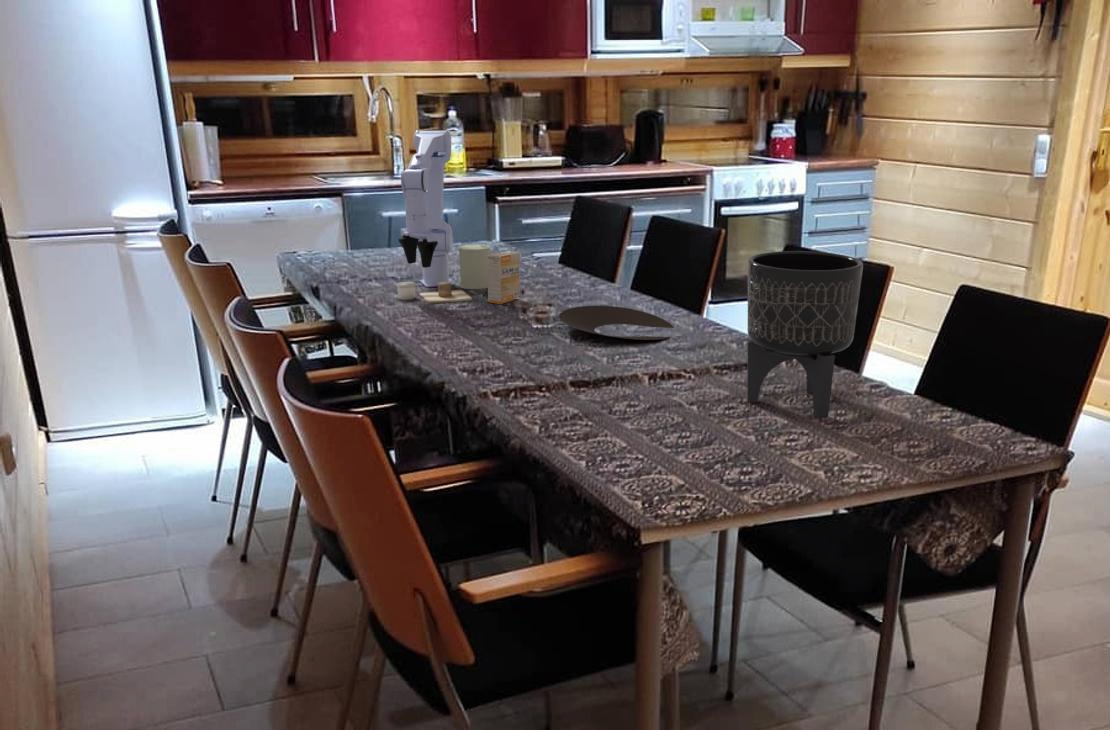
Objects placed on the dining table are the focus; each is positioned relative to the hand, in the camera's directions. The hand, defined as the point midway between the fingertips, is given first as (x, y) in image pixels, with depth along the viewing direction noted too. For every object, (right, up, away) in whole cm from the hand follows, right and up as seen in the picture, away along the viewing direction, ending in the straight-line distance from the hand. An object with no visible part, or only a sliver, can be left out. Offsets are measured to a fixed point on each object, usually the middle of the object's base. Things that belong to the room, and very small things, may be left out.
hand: (419, 265), depth 256 cm
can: (+14, -4, +19) cm, 24 cm away
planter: (+81, -34, -83) cm, 121 cm away
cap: (-4, -9, +5) cm, 11 cm away
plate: (+52, -19, -31) cm, 63 cm away
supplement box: (+23, -10, 0) cm, 25 cm away
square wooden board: (+7, -9, +4) cm, 12 cm away
